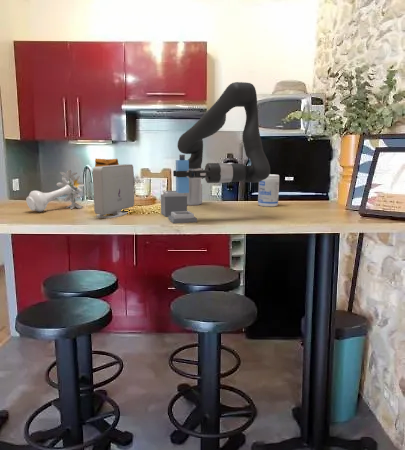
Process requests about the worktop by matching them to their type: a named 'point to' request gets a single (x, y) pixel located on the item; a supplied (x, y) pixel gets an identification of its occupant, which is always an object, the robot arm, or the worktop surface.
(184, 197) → the grey block
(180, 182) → the blue plug
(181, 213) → the plate
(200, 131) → the robot arm
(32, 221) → the worktop surface
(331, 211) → the worktop surface
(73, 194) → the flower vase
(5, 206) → the worktop surface
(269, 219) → the worktop surface
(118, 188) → the network device
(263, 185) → the supplement tub
